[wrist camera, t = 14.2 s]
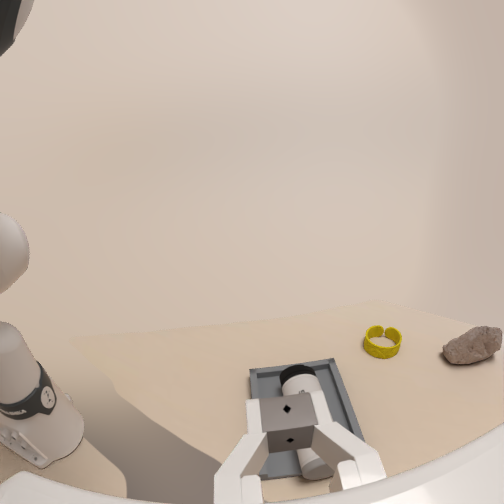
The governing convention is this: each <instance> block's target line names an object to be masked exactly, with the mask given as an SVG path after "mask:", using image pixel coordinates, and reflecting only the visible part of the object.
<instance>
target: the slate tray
mask: <svg viewBox="0 0 504 504" xmlns="http://www.w3.org/2000/svg"><path fill="white" fill-rule="evenodd" d="M298 364H301V365H304V366H309V367H311V368H313V369H314V371H315V373H316V377H317V379H318V381H319V383H320V386H321V389H322V391H323V393H324V396H325V399H326V402H327V405H328V408H329V411H330V413H331V416H332V419H333V422H337V423H339V424H340V425H341V426H343V427H344V428H346V429H347V430H348V431H350V432H351V433H352V434H354V435H355V436H356V437H358V438H359V439H361V440H362V441H363V442H365V440H364V438H363V435H362V432H361V429H360V426H359V424H358V421H357V418H356V416H355V413H354V410H353V407H352V405H351V402H350V399H349V397H348V394H347V391H346V389H345V386H344V384H343V381H342V378H341V376H340V373H339V371H338V368H337V365H336V363H335V360H334V358H331V359H325V360H319V361H312V362H305V363H298ZM298 364H291V365H283V366H275V367H266V368H257V369H249V370H250V382H251V393H252V399H261V398H272V397H282V396H283V392H282V387H281V383H280V379H279V376H280V374H281V372H282V371H283V370H284V369H286V368H288V367H290V366H293V365H298ZM259 405H260V403H259ZM260 413H261V412H260ZM300 475H303V474H302V470H301V466H300V462H299V458H298V454H297V450H290V451H283V452H277V453H269V455H268V457H267V459H266V461H265V463H264V465H263V466H262V468H261V470H260V472H259V477H260V479H261V480H270V479H279V478H286V477H294V476H300Z"/></svg>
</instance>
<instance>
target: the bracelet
mask: <svg viewBox="0 0 504 504" xmlns="http://www.w3.org/2000/svg"><path fill="white" fill-rule="evenodd" d="M383 333H384V329H383V327H382V326H379V325H377V326H372V327H370V328H369V329H368V330H367V331H366V336H365V340H364V349H365V350H366V351H367V353H369V354H370V355H372V356H374V357H377V358H382V359H387V358H391V357H393V356H395V355H396V354H397V352H398V351H399V348H400V343H401V341H402V336H401V333H400V332H399V331H398V330H397V329H395V328H393V327H389V328H387V329H386V330H385V336H386V337H387V338H389V339H391V340H393V341H394V342H395V343H396V345H395V346H392V347H382V346H378V345H375V344H374V343H372V342H371V341H370V340H369V339H370V338H373V337H379V336H381V335H382V334H383Z"/></svg>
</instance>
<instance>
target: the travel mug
mask: <svg viewBox="0 0 504 504" xmlns="http://www.w3.org/2000/svg"><path fill="white" fill-rule="evenodd" d="M279 379H280V383H281V387H282V392H283V396H286V395H293V394H299V393H305V392H313V391H319V390H322V389H321V386H320V383H319V381H318V379H317V377H316V373H315V371H314V369H313V368H311V367H309V366H304V365H301V364H298V365H293V366H290V367H288V368H286V369H284V370H283V371H282V372H281V374H280V376H279ZM327 406H328V405H327ZM328 409H329V408H328ZM329 412H330V411H329ZM330 415H331V413H330ZM331 419H332V416H331ZM332 422H333V419H332ZM297 454H298V458H299V462H300V466H301V470H302V474H303V477H304V478H306V479H309V480H318V479H323V478H327V477H330V476H333V475H334V473H335V471H334V470H333V469H332V468H331V467H330V466H328V465H327V464H326V463H325V462H324V461H323V460H322V459H321V458H320V457H319V456H318V455H317V454H316V453H315V452H314V451H313V450H312V449H311V448H305V449H298V450H297Z"/></svg>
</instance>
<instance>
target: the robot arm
mask: <svg viewBox="0 0 504 504" xmlns="http://www.w3.org/2000/svg"><path fill="white" fill-rule="evenodd" d="M33 2H34V0H0V56H1V55H2V54H3V53H4V52H5V51H6V50H7V49H8V48H10V46H11V45H12V44H13V43H14V41H15V38H16V36H17V35H18V33H19V32H20V30H21V29H22V27H23V26H24V24H25V22H26V20H27V18H28V16H29V14H30V11H31V9H32V5H33ZM28 264H29V244H28V241H27V237H26V235H25V233H24V231H23V229H22V227H21V226H20V225H19V224H18V222H17V221H15V220H14V219H13V218H12V217H10V216H8V215H6V214H3V213H1V212H0V294H1V293H3V292H4V291H6V290H7V289H8V288H9V287H10V286H11V285H12V284H13V283H14V282H15V281H16V280H17V279H18V278H19V277H20V276H21V275H22V274H23V273H24V272H25V271H26V270H27V268H28ZM259 403H260V405H259ZM260 412H261V413H260ZM246 418H247V432H248V434H244V435H243V436H242V438H241V439H240V441H239V442H238V444H237V445H236V446H235V448H234V449H233V451H232V452H231V454H230V455H229V456H228V458H227V459H226V461H225V462H224V463H223V465H222V466H221V467H220V469H219V470H218V471H217V473H216V474H215V476H214V504H504V422H503V423H502V424H500V425H499V426H497V427H495V428H494V429H492V430H491V431H489V432H487V433H485V434H484V435H482V436H480V437H478V438H477V439H475V440H473V441H471V442H469V443H467V444H466V445H464V446H462V447H460V448H458V449H456V450H454V451H452V452H450V453H447V454H445V455H443V456H441V457H439V458H437V459H434V460H432V461H430V462H427V463H425V464H423V465H420V466H418V467H415V468H413V469H410V470H407V471H405V472H402V473H399V474H396V475H393V476H390V477H387V476H386V473H385V471H384V468H383V465H382V462H381V459H380V457H379V454H378V451H376V450H375V449H373V448H372V447H370V446H369V445H368V444H366V443H365V442H363V441H362V440H361V439H359V438H358V437H356V436H355V435H354V434H352V433H351V432H350V431H348V430H347V429H346V428H344V427H343V426H341V425H340V424H339V423H337V422H332V419H331V415H330V412H329V409H328V406H327V402H326V399H325V396H324V393H323V391H322V390H319V391H313V392H305V393H299V394H293V395H286V396H282V397H272V398H261V399H249V400H246ZM83 433H84V420H83V417H82V415H81V413H80V412H79V411H78V410H77V409H76V408H75V407H74V405H73V402H72V399H71V397H70V396H69V395H68V394H65V393H63V392H62V390H61V389H60V388H59V387H58V386H57V384H56V383H55V382H54V381H53V379H52V378H51V377H50V376H48V375H47V372H46V371H45V369H44V368H43V367H42V366H41V364H40V363H39V362H38V361H36V360H35V358H34V356H33V355H32V353H31V351H30V350H29V348H28V346H27V344H26V342H25V340H24V338H23V337H22V335H21V333H20V332H19V330H17V328H16V327H14V326H13V325H11V324H9V323H6V322H1V321H0V442H1V443H2V444H3V445H5V446H6V447H8V448H9V449H10V450H12V451H13V452H15V453H16V454H18V455H19V456H21V457H22V458H24V459H25V460H27V461H29V462H30V463H32V464H33V465H35V466H37V467H38V468H41V469H43V468H45V467H47V466H48V465H49V464H50V463H51V462H53V461H55V460H57V459H60V458H63V457H65V456H67V455H68V454H70V453H71V452H72V451H73V450H74V449H75V448H76V447H77V446H78V445H79V443H80V441H81V439H82V437H83ZM305 448H311V449H312V450H313V451H314V452H315V453H316V454H317V455H318V456H319V457H320V458H321V459H322V460H323V461H324V462H325V463H326V464H327V465H328V466H330V467H331V468H332V469H333V470H334V471H335V473H334V475H333V478H332V480H331V482H330V485H329V490H330V493H328V494H323V495H318V496H313V497H307V498H301V499H295V500H287V501H279V502H270V503H264V497H263V491H262V485H261V479H260V477H259V476H257V475H258V473H259V472H260V470H261V468H262V466H263V465H264V463H265V461H266V459H267V457H268V455H269V453H277V452H283V451H290V450H298V449H305ZM0 504H169V503H158V502H149V501H141V500H134V499H128V498H122V497H117V496H111V495H106V494H102V493H97V492H93V491H89V490H85V489H81V488H77V487H73V486H70V485H66V484H63V483H59V482H56V481H53V480H50V479H47V478H44V477H41V476H39V475H36V474H33V473H31V472H28V471H21V472H19V473H17V474H15V475H13V476H12V477H10V478H9V479H7V480H6V481H4V482H3V483H1V484H0Z"/></svg>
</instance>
